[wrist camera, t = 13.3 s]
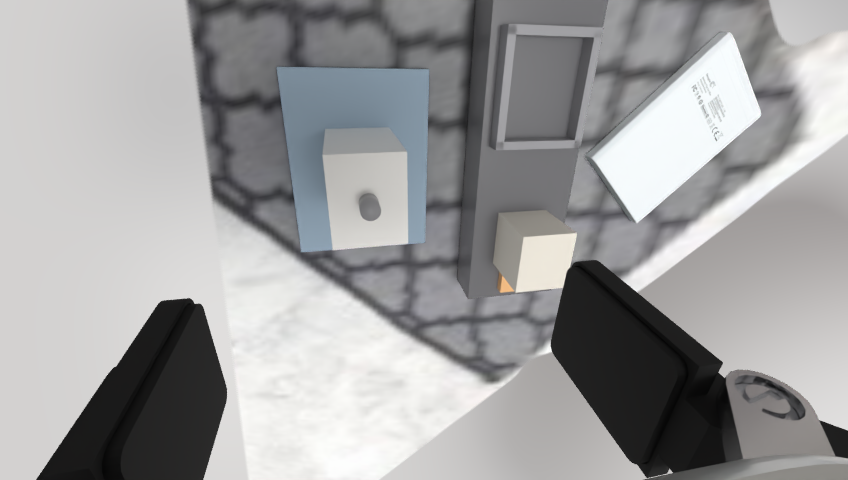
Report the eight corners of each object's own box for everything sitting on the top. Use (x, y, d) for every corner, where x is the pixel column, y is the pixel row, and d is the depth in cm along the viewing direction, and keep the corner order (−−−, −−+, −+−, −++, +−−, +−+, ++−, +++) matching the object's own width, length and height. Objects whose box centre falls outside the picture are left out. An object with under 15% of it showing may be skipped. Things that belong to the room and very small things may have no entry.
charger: (325, 128, 24) (321, 161, 17) (388, 127, 25) (411, 157, 17) (332, 203, 26) (332, 261, 19) (391, 200, 27) (412, 253, 20)
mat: (278, 66, 23) (276, 67, 22) (426, 68, 24) (429, 69, 24) (302, 247, 28) (301, 252, 27) (422, 238, 30) (425, 242, 29)
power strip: (485, -146, 20) (551, -232, 14) (601, -130, 22) (707, -202, 16) (457, 278, 32) (486, 332, 26) (534, 271, 33) (579, 320, 27)
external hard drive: (580, 153, 30) (713, 31, 28) (625, 217, 34) (745, 114, 32) (592, 158, 29) (733, 30, 27) (638, 225, 32) (765, 117, 30)
